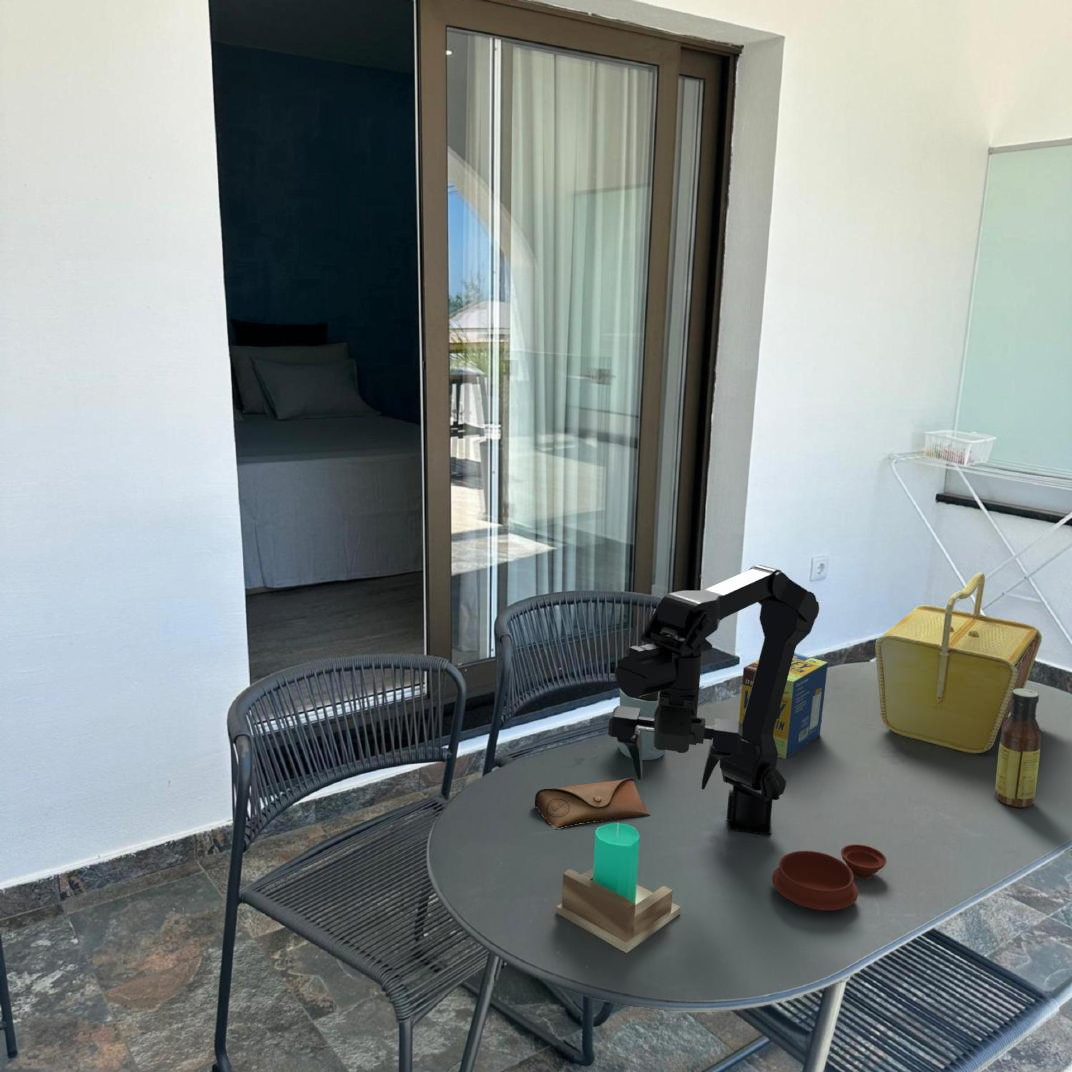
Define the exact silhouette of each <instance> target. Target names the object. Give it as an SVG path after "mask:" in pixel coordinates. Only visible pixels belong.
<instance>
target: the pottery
mask: <svg viewBox="0 0 1072 1072" xmlns="http://www.w3.org/2000/svg"><path fill="white" fill-rule="evenodd" d="M840 856H841V857H842V860H843V861H844V862H843V861H842V860H840V859H838V858H837V857H834V856H833V855H830V854H827V853H823V852H820V851H812V850H799V851H798V850H797V851H792V852H790V853H787V854H785V855H783V856H782V858H780V860H779V863H778V867H777V868H776V869H774V871H773V873H772V876H771V881H772V885H773V886H774V889H776V891H777V892H778V893H779V894H780V895H781V896H782V897H784V898H785V899H787V900H789V901H790V902H792V903H794V904H797V905H799V906H801V907H805V908H809V909H812V910H817V911H818V910H819V911H820V910H821V911H836V910H843V909H845V908H848V907H850V906H852V905H853V904H854V903H856V901H857V900H858V896H859V890H858V887H857V885H856V884H855V882H854V880H855V879H854V878H857V879H861V880H870V879H872V877H873V875H875V874H877V873H878V872H879V871H880V870H882V869H883V868H884V867H885V865H886V864H887V857H886V856H885V854H884V853H882V852H881V851H880V850H878V849H876V848H874V847H872V846H869V845H863V844H855V843H854V844H849V845H845V846H844V847H841V850H840Z"/></svg>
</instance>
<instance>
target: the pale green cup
mask: <svg viewBox="0 0 1072 1072" xmlns="http://www.w3.org/2000/svg"><path fill="white" fill-rule="evenodd" d="M657 703H658V692H654V693H651V694H648V695H644V696H641V697H637V698H630V697H628V696H627V695H625V694H624V693H623V692H622V691H621V689H620V688H619V706H626V707H634V708H640V709H641V716H640V717H647V718H654V714H655V710H656V708H657ZM618 743H619V744H618V746H619V751H620V753H622V754H623V755H624V756H626V757H628V758H631V759H632V757H631V755H630V752H629V750H628V748H627V747H626V745H625V744H624V743H620V742H618ZM665 753H666V750H658V749H656V748H655V747H654V732H650V731H642V761H652V760H657V759H659V758H662V757H663V756H664V755H665ZM661 756H662V757H661Z"/></svg>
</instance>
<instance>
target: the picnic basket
mask: <svg viewBox="0 0 1072 1072" xmlns="http://www.w3.org/2000/svg"><path fill="white" fill-rule="evenodd" d="M985 579H986V575H985V573H984V572H982V571H979V572H977V573H976V574H975V575H974V576H973V577H972V578H970V580H968V582H967V584H966V586H964V588H963V589H962V590H959V591H956V592H953V594H951V596H950V597H949V598H948V601H947V603H946V607H942V606H936V605H928V604H922V605H918V606H917V607H915V608H914V609H912V611H911V612H909V613H908V614H907V615H906V616H904V617H903V618H902V619H901V620H900V621H898V622H897V623H896V624H894V625H892V627H890V628H889V629H888V630H887V631H886V632H885V633H884V634H882V635H881V636H879V637H878V638H877V639H876V641H875V645H874V647H875V649H874V650H875V659H876V660H875V661H876V672H877V682H878V683H877V685H878V695H879V706H880V707H879V708H880V709H879V710H880V716H881V720H882V723H883V724H884V725H885V726H886V727H887V728H888V729H889V730H890V731H891V732H893V733H894V734H897V735H900V736H902V737H907V738H911V739H914V740H917V741H918V740H919V741H922V742H925V743H928V744H929V743H930V744H933V745H937V746H941V747H944V748H949V749H952V750H956V751H960V752H963V753H967V754H980V753H985V752H987V751H989V750H991V748H992V747H993V746H994V745H995V744H994V743H995V741H996V739H997V735H998V732H999V731H1000V730H1001V729H1002V725H1003V723H1004V722H1005V721H1006V720H1007V719H1008V717H1009V716H1010V714H1011V709H1012V691H1013V690H1014V689H1020V688H1023V689H1025V686H1026V684H1027V681H1028V679H1029V676H1030V674H1031V671H1032V668H1033V665H1034V663H1035V660H1036V657H1037V654H1038V652H1039V651H1040V650H1039V649H1040V646H1041V643H1042V638H1043V635H1042V633H1041V632H1040V630H1039V629H1038V628H1037V627H1035V626H1034V625H1031V624H1029V623H1026V622H1021V621H1020V622H1019V621H1016V620H1010V619H1005V618H1000V617H999V618H997V617H995V616H994V617H993V616H990V615H989V616H988V615H983V614H981V608H982V602H983V595H984V588H985V584H986V583H985ZM975 591H976V595H975V600H974V606H973V607H974V608H973V612H968V611H962V610H957V609H954V606H955V604H956V601H957V600H958V599H959V600H965V599H967V598H969V597H971V596H972V595H973V594H974V593H975Z"/></svg>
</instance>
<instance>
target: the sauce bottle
mask: <svg viewBox="0 0 1072 1072" xmlns="http://www.w3.org/2000/svg"><path fill="white" fill-rule="evenodd" d="M1039 699H1040V694H1039V693H1038V692H1037V691H1035V690H1033V689H1029V688H1024V689H1023V688H1020V689H1014V690H1013V691H1012V709H1011V712H1010V714H1009V715H1008V717H1007V718H1006V720H1005V721H1004V723H1003V724H1002V726H1001V733H1000V740H999V746H998V755H997V765H996V775H995V777H996V778H995V786H994V789H995V792H994V793H995V797H996V799H997V800H998V801H999V802H1001V803H1002V804H1005V805H1008V806H1011V807H1014V808H1029V807H1032V806H1033V803H1034V801H1035V800H1034V799H1035V796H1036V791H1037V780H1038V773H1039V764H1040V757H1041V756H1040V755H1041V738H1042V731H1041V728H1040V726H1039V724H1038V721H1037V719H1036V717H1037V715H1036V714H1037V713H1036V711H1037V707H1038V705H1037V704H1038V703H1039Z"/></svg>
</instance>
